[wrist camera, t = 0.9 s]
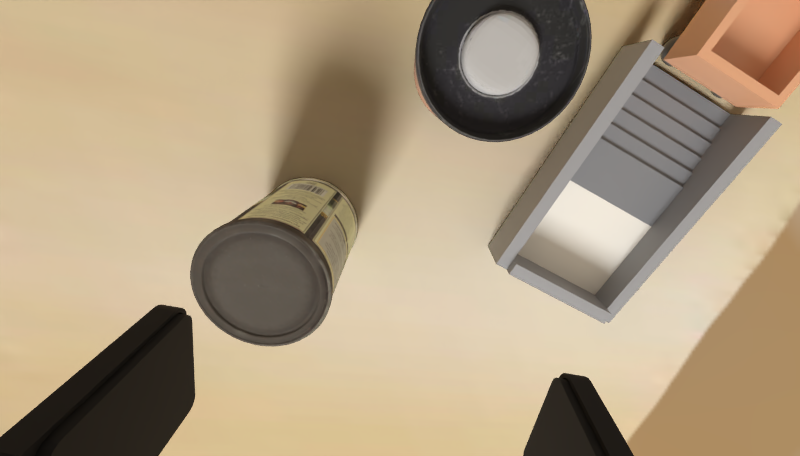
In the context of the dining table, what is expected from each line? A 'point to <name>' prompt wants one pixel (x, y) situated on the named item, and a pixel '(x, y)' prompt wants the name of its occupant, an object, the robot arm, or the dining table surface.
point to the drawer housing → (624, 185)
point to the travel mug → (501, 63)
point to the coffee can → (276, 263)
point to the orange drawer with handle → (741, 50)
